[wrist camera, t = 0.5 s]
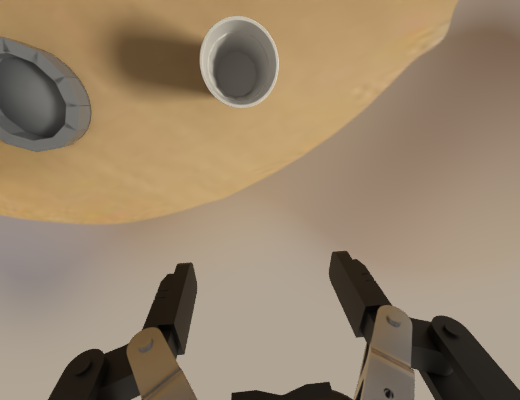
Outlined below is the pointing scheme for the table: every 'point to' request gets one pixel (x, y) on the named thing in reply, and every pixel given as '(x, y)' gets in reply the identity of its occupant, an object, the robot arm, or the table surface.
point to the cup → (239, 61)
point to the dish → (39, 99)
